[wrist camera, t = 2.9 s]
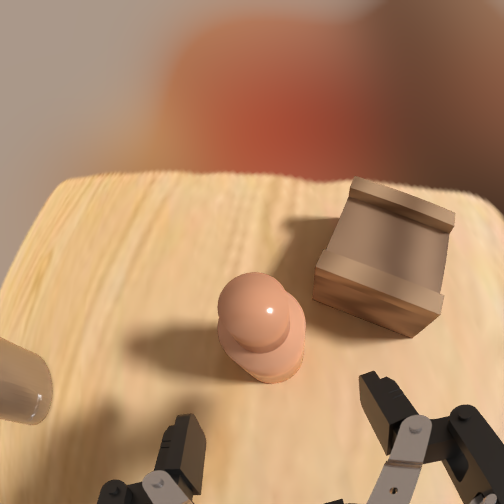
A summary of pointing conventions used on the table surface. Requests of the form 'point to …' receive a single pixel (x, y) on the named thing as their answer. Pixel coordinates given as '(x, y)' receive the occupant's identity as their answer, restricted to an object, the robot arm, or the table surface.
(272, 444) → the table surface
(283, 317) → the peg doll
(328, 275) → the pedestal
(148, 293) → the table surface
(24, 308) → the table surface
